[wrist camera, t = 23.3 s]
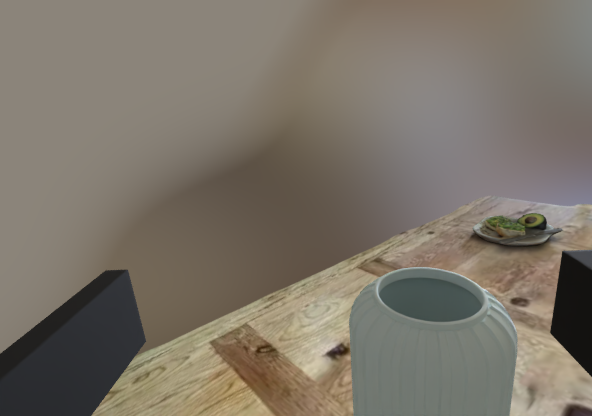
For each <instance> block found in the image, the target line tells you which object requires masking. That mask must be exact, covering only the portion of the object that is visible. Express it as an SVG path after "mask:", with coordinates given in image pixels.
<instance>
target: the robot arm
mask: <svg viewBox="0 0 592 416" xmlns="http://www.w3.org/2000/svg"><path fill="white" fill-rule="evenodd" d="M550 333H551V334H552V335H553V336H554V338H555V339H556V340H557V341H558V342H559V343H560V344H561V345H562V346H563V347H564V348H565V349H566V350H567V351H568V352H569V353H570V354H571V356H572V357H573V358H574V359H575V360H576V361H577V362H578V363H579V364H580V365H581V366H582V367H583V368H584V369H585V370H586V371H587V372H588V373H589V375H590V376H591V377H592V250H577V251H562V258H561V265H560V271H559V278H558V285H557V291H556V298H555V305H554V311H553V318H552V325H551V331H550ZM145 342H146V339H145V335H144V331H143V328H142V323H141V320H140V316H139V312H138V308H137V304H136V300H135V296H134V292H133V288H132V284H131V280H130V276H129V273H128V270H110V271H109V270H108V271H105V272H104V273H102V274H101V275H100V276H98V277H97V278H96V279H94V280H93V281H92V282H91V283H90V284H88V285H87V286H86V287H84V288H83V289H82V290H81V291H79V292H78V293H77V294H75V295H74V296H73V297H72V298H70V299H69V300H68V301H67V302H65V303H64V304H63V305H62V306H60V307H59V308H58V309H56V310H55V311H54V312H53V313H51V314H50V315H49V316H48V317H46V318H45V319H44V320H43V321H41V322H40V323H39V324H37V325H36V326H35V327H34V328H33V329H31V330H30V331H29V332H27V333H26V334H25V335H24V336H22V337H21V338H20V339H18V340H17V341H16V342H15V343H13V344H12V345H11V346H10V347H8V348H7V349H6V350H5V351H3V352H2V353H1V354H0V416H91V415H92V414H93V412H94V411H95V410H96V408H97V407H98V406H99V404H100V403H101V402H102V400H103V399H104V398H105V396H106V395H107V393H108V392H109V391H110V389H111V388H112V387H113V385H114V384H115V383H116V381H117V380H118V379H119V377H120V376H121V374H122V373H123V372H124V370H125V369H126V368H127V366H128V365H129V364H130V362H131V361H132V360H133V358H134V357H135V355H136V354H137V353H138V351H139V350H140V348H141V347H142V346H143V345H144V343H145Z"/></svg>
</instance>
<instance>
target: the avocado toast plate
mask: <svg viewBox="0 0 592 416" xmlns="http://www.w3.org/2000/svg"><path fill="white" fill-rule="evenodd" d="M473 231H474V232H475V233H476V234H477V235H479V236H480V237H481V238H483V239H484V240H487V241H490V242H494V243H499V244H504V245H508V246H527V245H538V244H541V243H544V242H545V241H546V240H547V239H548V238H549V237H550V236H552V235H554V234H556V233H558V232H561V231H563V230H562V229H561V228H557V229H555V228H553V227H552V226H550V225H548V224H547V221H546V218H545V217H544V216H543V215H541V214H536V213H531V214H526V215H523V217H521V218H519V219H517V218H512V217H506V216H491V217H487V218H485V219H483V220H482V221H480V222H479V223H478V224H476V225H475V226H474V227H473Z"/></svg>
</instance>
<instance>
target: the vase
mask: <svg viewBox="0 0 592 416" xmlns="http://www.w3.org/2000/svg"><path fill="white" fill-rule="evenodd" d="M349 326H350V347H351V368H352V389H353V410H354V416H509V415H510V407H511V399H512V391H513V382H514V374H515V366H516V358H517V332H516V329H515V326H514V324H513V322H512V320H511V318H510V315H509V313H508V312H507V311H506V309H505V308H504V307H503V305H502V304H501V303H500V302H498V301H497V299H496V298H495V297H494V296H493V295H492V294H490V293H489V292H488V291H487V290H485V289H482V288H481V287H480V286H479V285H478V284H476V283H475V282H473V281H472V280H470V279H468V278H466V277H464V276H462V275H459V274H457V273H454V272H450V271H446V270H442V269H436V268H426V267H413V268H404V269H399V270H395V271H392V272H390V273H387V274H386V275H384V276H382V277H379V278H378V279H376V280H375V281H373V282H372V283H370V284H369V285H367V286H366V287H365V288H364V289H363V290H362V291H361V292H360V294H359V295H358V297H357V298H356V299H355V301H354V304H353V306H352V310H351V314H350V320H349Z"/></svg>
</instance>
